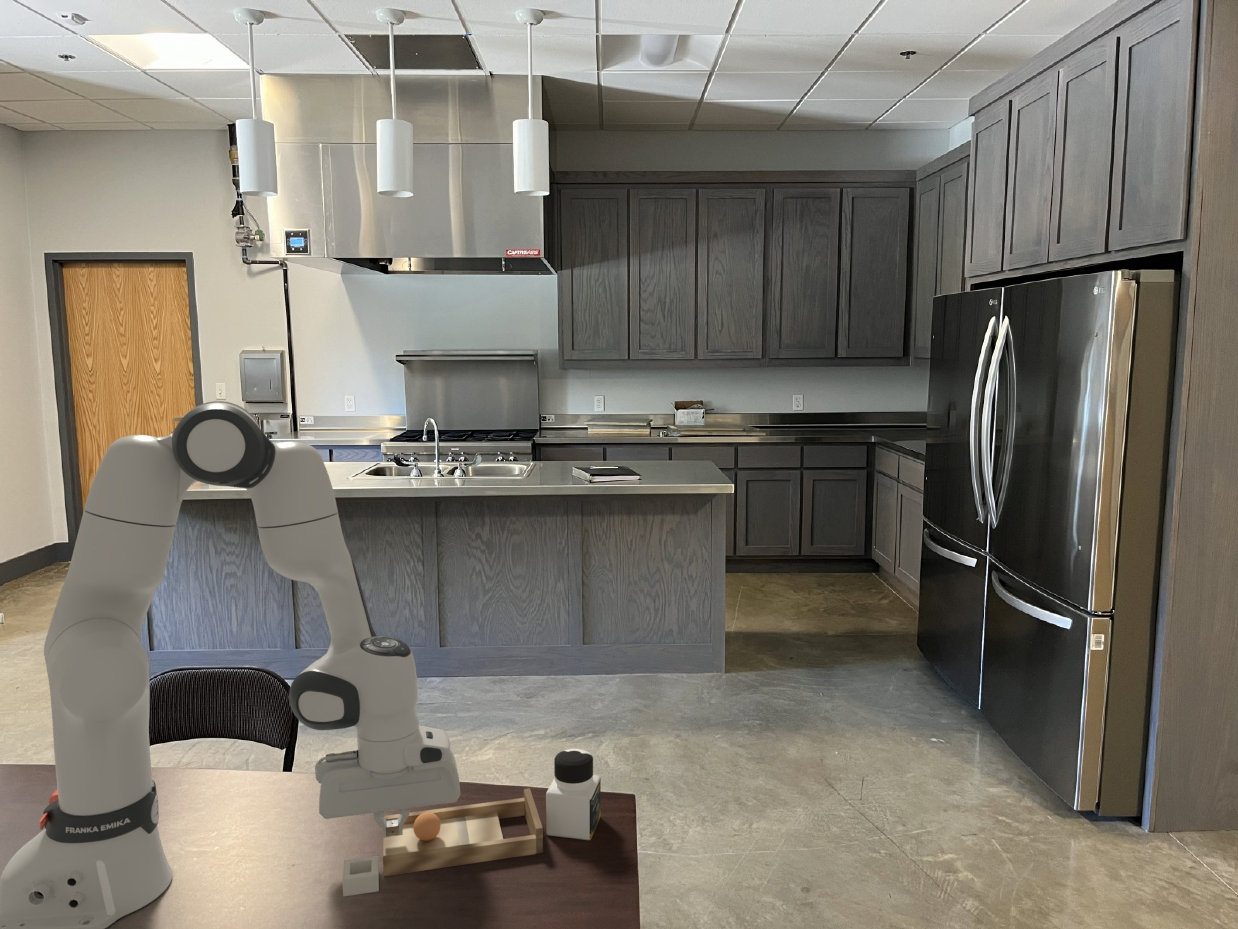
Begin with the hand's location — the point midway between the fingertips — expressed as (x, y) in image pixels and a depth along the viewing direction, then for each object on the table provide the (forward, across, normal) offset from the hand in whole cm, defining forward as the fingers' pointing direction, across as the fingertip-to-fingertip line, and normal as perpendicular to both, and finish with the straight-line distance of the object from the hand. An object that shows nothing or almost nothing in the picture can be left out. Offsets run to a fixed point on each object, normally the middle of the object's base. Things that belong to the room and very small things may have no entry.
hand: (392, 834), depth 130 cm
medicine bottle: (+3, +28, 0) cm, 28 cm away
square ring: (+3, -4, -7) cm, 9 cm away
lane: (+3, +10, 0) cm, 10 cm away
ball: (0, +5, 0) cm, 5 cm away
